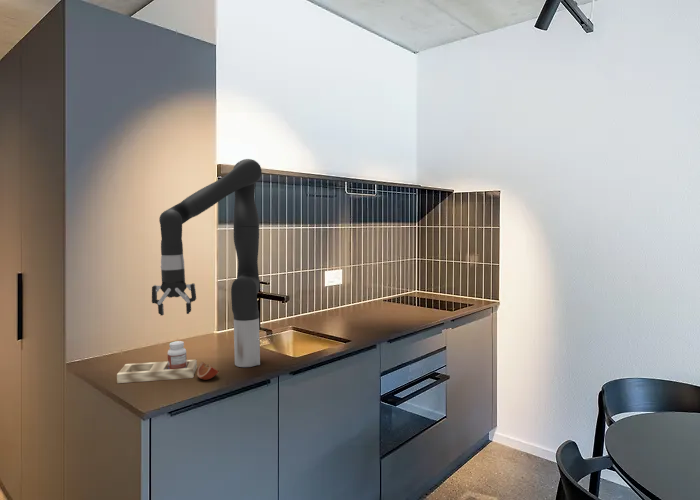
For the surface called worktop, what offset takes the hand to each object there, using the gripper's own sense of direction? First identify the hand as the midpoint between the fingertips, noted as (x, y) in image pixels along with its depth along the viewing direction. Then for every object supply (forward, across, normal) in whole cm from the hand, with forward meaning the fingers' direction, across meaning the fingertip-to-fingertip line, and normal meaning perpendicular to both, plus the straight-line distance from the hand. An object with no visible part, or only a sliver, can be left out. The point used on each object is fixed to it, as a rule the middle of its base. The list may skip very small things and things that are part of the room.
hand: (175, 314), depth 162 cm
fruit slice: (+22, -11, +7) cm, 25 cm away
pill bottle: (+21, 0, 0) cm, 21 cm away
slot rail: (+21, +6, 0) cm, 22 cm away
